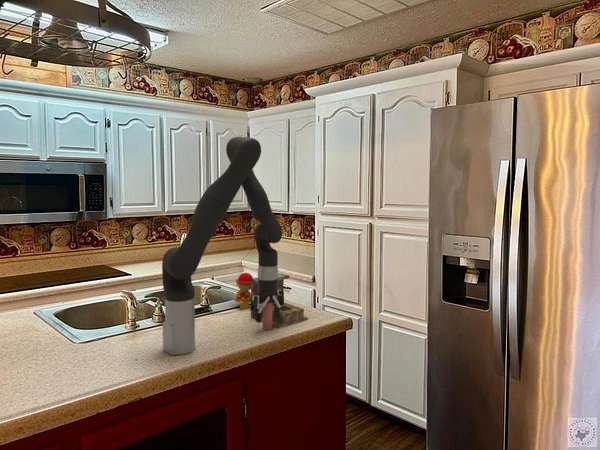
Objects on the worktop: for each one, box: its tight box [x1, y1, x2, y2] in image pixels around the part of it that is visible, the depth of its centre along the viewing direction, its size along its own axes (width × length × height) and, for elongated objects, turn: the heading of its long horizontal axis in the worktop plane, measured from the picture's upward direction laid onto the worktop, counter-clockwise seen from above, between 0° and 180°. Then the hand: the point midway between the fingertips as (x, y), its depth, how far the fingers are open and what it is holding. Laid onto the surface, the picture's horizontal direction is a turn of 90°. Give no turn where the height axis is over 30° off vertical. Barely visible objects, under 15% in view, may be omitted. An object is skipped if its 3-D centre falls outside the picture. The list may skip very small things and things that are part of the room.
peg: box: [262, 303, 273, 331], centre depth 165 cm, size 4×4×10 cm
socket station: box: [250, 273, 309, 329], centre depth 176 cm, size 16×16×16 cm
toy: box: [234, 272, 254, 310], centre depth 191 cm, size 11×9×15 cm
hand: (267, 319), depth 165 cm, fingers open, 8 cm apart
